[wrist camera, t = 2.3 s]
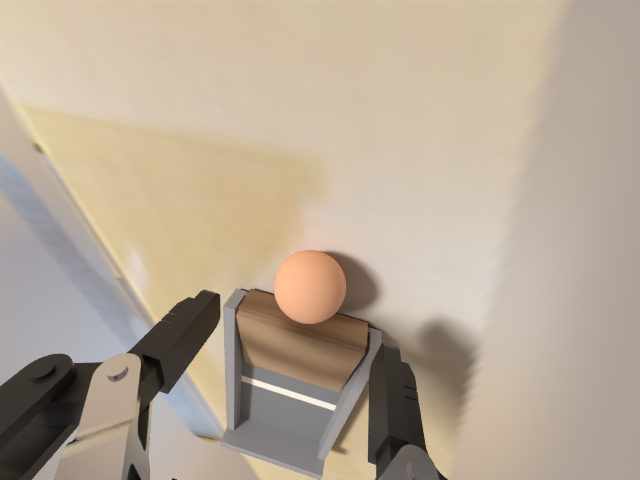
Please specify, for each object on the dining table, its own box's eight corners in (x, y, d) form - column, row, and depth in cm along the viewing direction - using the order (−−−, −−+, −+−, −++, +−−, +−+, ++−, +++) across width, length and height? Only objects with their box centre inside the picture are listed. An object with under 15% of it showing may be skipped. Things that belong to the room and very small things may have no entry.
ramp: (255, 282, 18) (236, 310, 16) (368, 314, 17) (366, 349, 15) (250, 351, 23) (235, 382, 20) (340, 378, 22) (336, 414, 19)
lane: (236, 288, 18) (212, 319, 15) (381, 330, 17) (382, 371, 14) (235, 414, 28) (221, 445, 26) (325, 444, 27) (319, 479, 25)
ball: (291, 230, 14) (264, 270, 11) (356, 247, 14) (350, 294, 11) (283, 280, 16) (259, 327, 13) (341, 296, 16) (331, 349, 13)
